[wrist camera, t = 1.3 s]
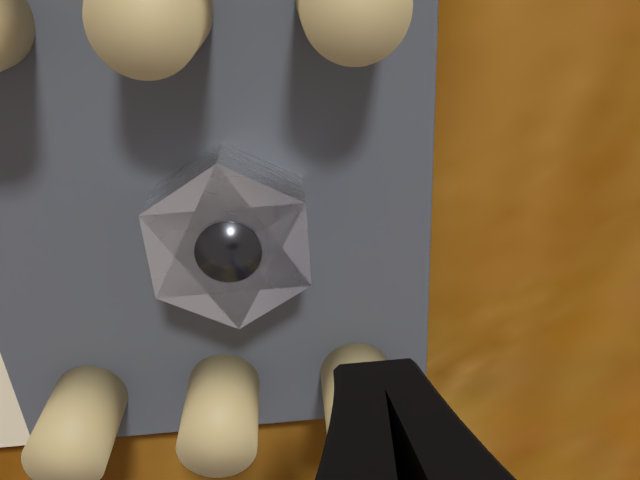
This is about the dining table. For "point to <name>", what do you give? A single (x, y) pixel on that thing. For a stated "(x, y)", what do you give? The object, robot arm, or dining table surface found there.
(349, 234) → the board
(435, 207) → the dining table surface
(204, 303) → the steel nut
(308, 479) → the dining table surface
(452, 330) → the dining table surface
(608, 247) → the dining table surface
